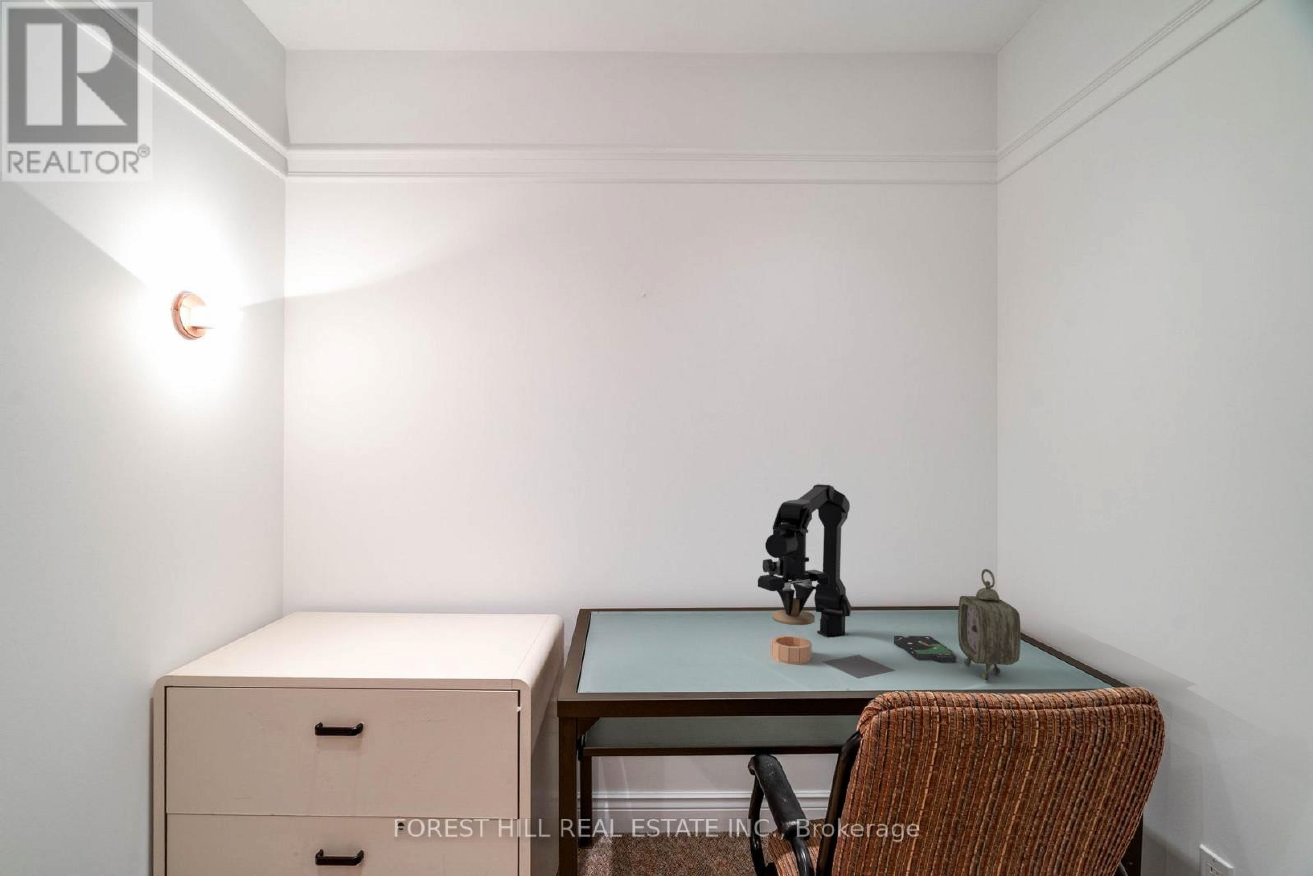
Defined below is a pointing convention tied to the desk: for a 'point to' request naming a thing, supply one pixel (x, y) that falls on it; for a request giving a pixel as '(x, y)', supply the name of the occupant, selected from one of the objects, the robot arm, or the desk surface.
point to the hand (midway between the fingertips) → (793, 614)
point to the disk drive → (925, 648)
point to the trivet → (858, 666)
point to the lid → (794, 616)
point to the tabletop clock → (988, 629)
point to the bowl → (791, 649)
